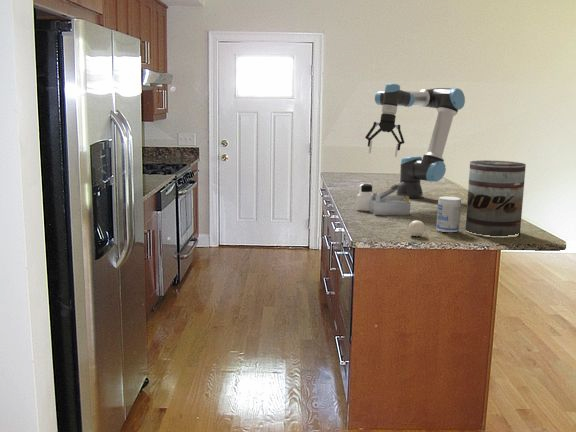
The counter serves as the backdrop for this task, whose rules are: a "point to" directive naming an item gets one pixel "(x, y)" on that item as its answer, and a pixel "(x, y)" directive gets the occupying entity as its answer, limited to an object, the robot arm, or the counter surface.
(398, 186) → the lid
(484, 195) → the barrel
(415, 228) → the baseball
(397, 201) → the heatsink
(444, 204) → the supplement tub
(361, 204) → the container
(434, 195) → the counter surface
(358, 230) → the counter surface
